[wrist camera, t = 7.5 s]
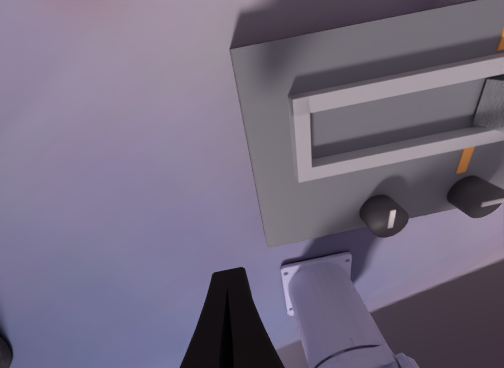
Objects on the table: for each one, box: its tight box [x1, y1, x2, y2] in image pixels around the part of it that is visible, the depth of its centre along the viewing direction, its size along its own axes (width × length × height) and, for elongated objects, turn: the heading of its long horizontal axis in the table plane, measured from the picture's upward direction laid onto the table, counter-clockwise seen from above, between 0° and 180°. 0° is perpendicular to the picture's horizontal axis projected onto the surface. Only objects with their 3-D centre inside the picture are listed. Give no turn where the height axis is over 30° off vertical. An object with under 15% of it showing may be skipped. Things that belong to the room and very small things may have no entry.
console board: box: [230, 0, 504, 248], centre depth 17 cm, size 16×24×4 cm, turn 100°
